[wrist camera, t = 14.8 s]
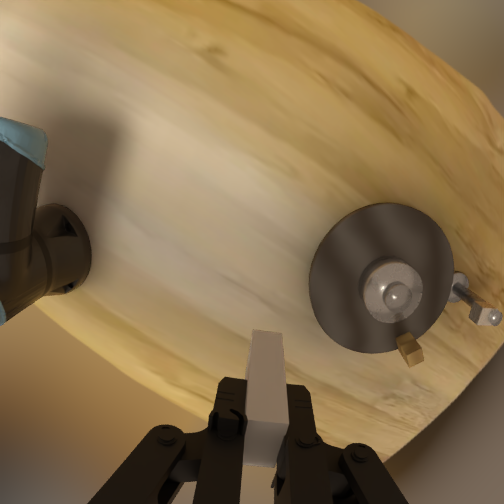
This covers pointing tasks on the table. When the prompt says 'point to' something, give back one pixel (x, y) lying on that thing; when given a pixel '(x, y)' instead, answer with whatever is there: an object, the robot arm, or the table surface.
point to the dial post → (474, 302)
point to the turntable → (355, 261)
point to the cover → (390, 289)
